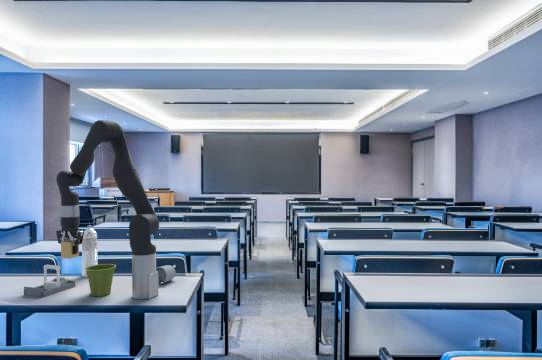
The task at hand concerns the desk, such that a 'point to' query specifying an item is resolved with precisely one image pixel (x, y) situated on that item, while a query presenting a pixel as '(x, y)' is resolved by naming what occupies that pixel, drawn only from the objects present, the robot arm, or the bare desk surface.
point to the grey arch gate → (49, 284)
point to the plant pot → (100, 278)
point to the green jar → (61, 281)
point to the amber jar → (68, 249)
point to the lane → (41, 292)
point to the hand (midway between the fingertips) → (70, 253)
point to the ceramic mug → (165, 273)
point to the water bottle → (89, 249)
